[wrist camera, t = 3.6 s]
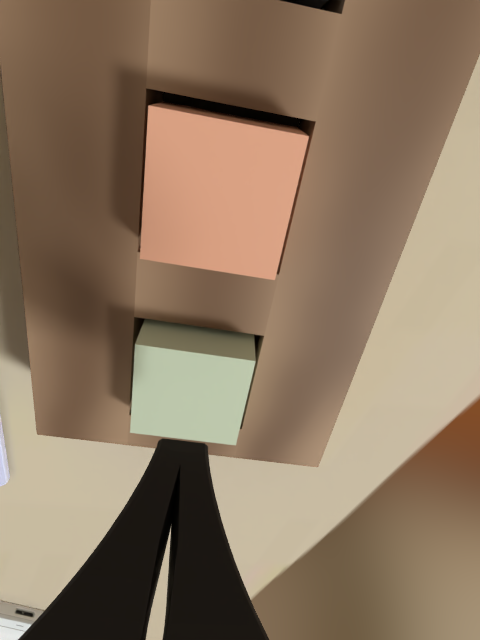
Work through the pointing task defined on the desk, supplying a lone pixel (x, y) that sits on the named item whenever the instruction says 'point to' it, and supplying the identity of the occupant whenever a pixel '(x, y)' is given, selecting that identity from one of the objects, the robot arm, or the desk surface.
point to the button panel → (306, 215)
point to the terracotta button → (218, 189)
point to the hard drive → (16, 620)
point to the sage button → (190, 381)
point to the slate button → (308, 3)
